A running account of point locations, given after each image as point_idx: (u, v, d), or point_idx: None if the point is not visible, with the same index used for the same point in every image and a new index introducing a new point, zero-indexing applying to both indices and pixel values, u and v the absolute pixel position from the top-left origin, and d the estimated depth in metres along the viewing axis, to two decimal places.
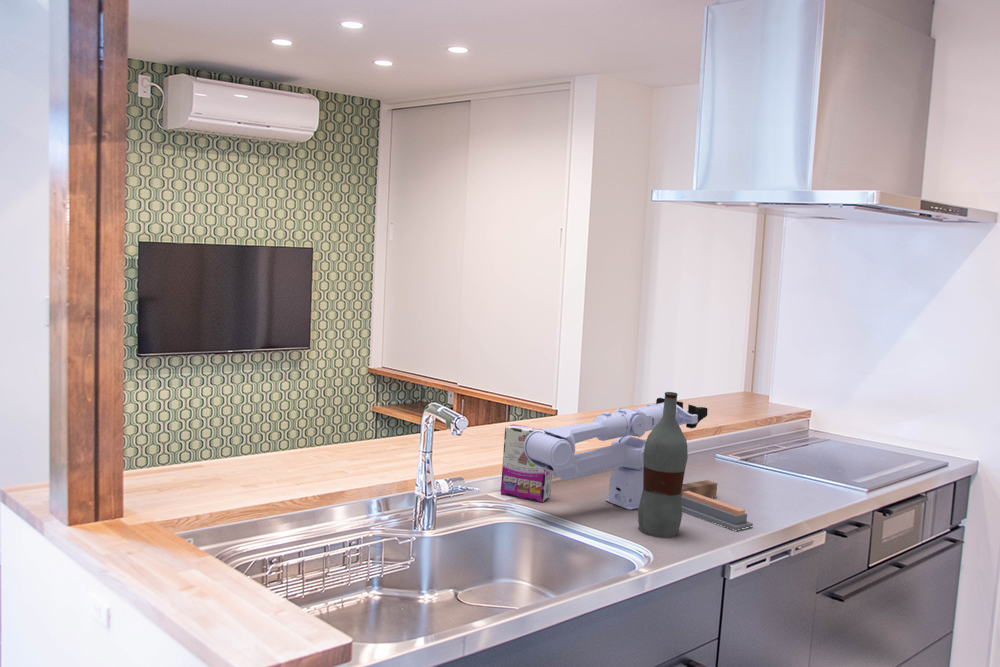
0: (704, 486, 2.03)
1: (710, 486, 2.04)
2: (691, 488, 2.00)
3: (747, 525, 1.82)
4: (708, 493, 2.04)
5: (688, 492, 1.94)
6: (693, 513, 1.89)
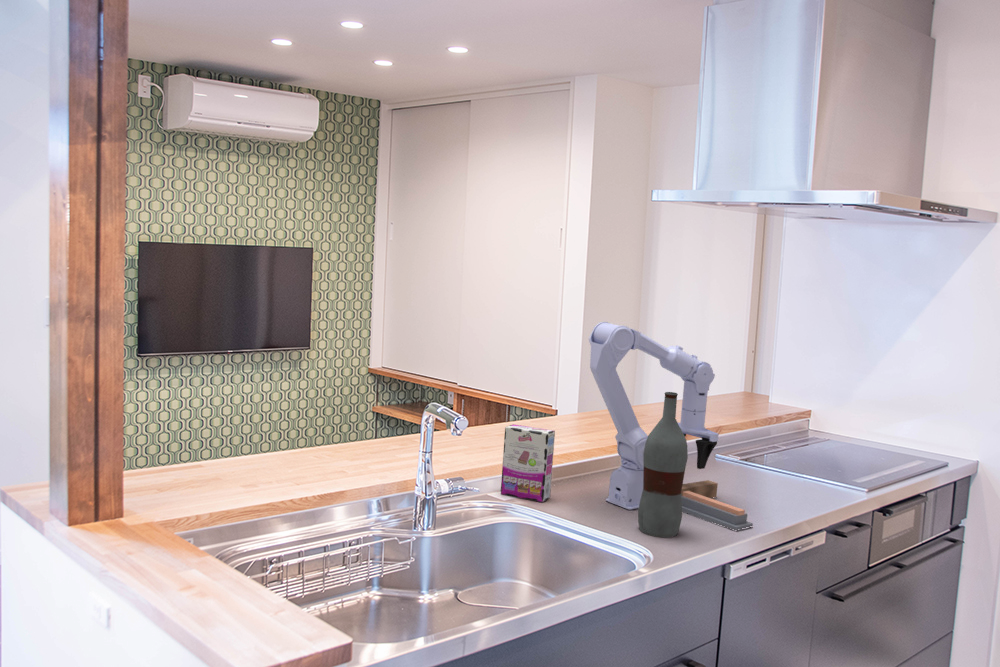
0: (704, 486, 2.03)
1: (710, 486, 2.04)
2: (691, 488, 2.00)
3: (747, 525, 1.82)
4: (709, 494, 2.04)
5: (688, 492, 1.94)
6: (693, 513, 1.89)
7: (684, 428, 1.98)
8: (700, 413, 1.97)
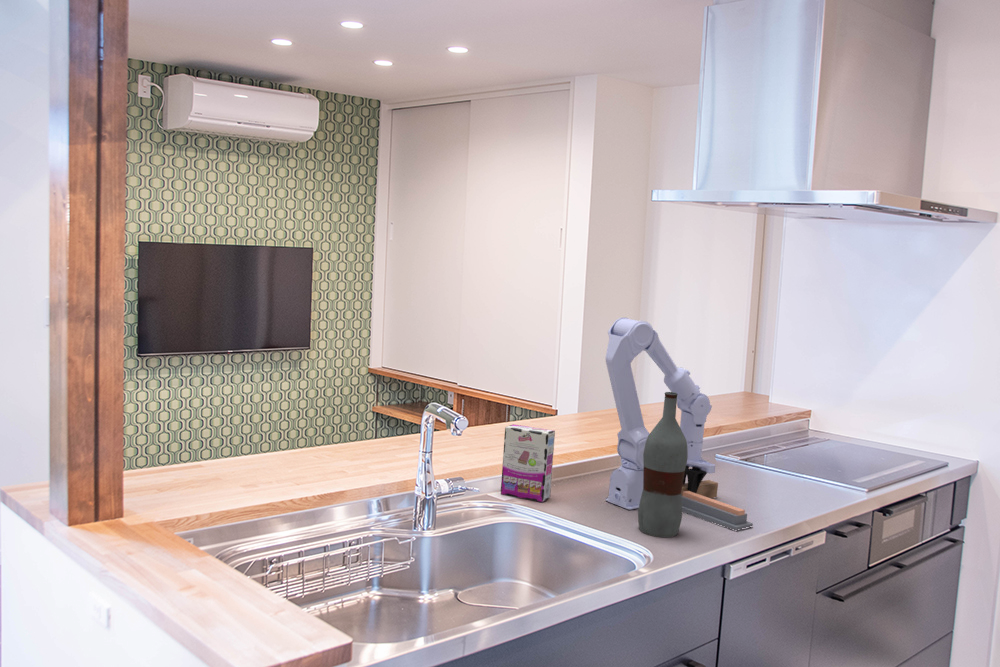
0: (704, 486, 2.03)
1: (710, 486, 2.04)
2: None
3: (747, 525, 1.82)
4: (709, 493, 2.04)
5: (688, 492, 1.94)
6: (693, 513, 1.89)
7: None
8: (697, 444, 1.97)
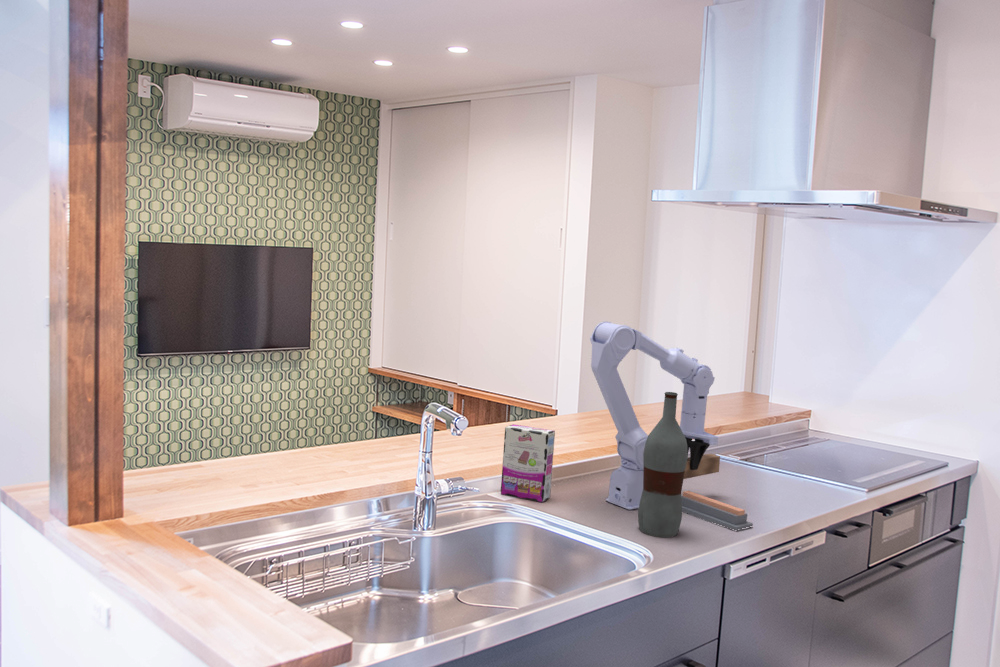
0: (707, 459, 2.02)
1: (712, 459, 2.04)
2: None
3: (747, 525, 1.82)
4: (711, 467, 2.04)
5: (688, 492, 1.94)
6: (693, 513, 1.89)
7: (684, 431, 1.98)
8: (700, 416, 1.97)
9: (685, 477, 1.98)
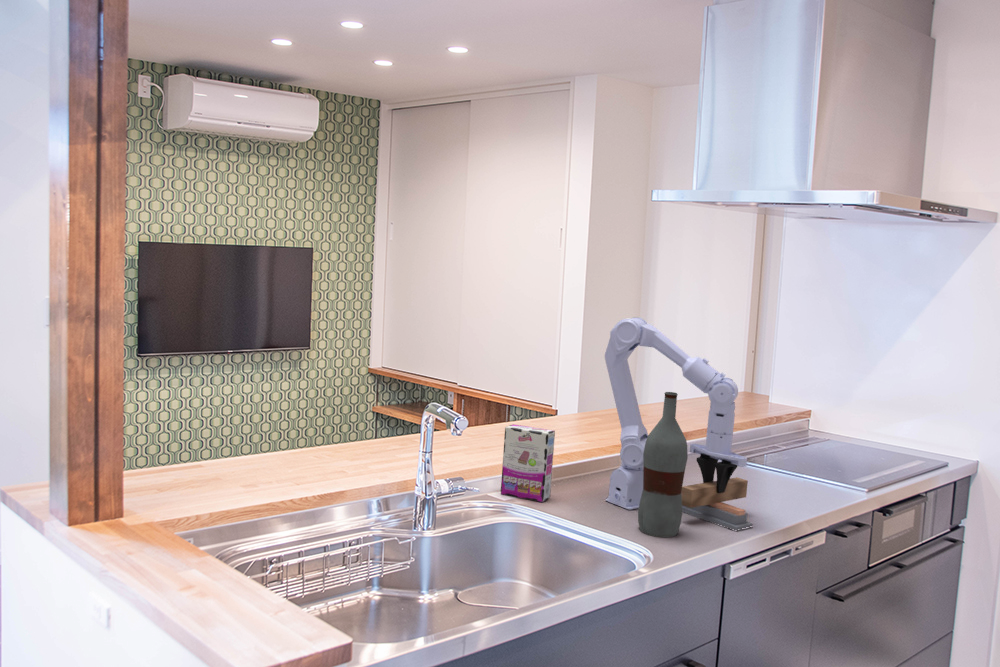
0: (734, 484, 1.90)
1: (740, 484, 1.92)
2: None
3: (747, 525, 1.82)
4: (739, 492, 1.92)
5: None
6: (693, 513, 1.89)
7: (710, 452, 1.86)
8: (727, 436, 1.84)
9: (711, 502, 1.86)
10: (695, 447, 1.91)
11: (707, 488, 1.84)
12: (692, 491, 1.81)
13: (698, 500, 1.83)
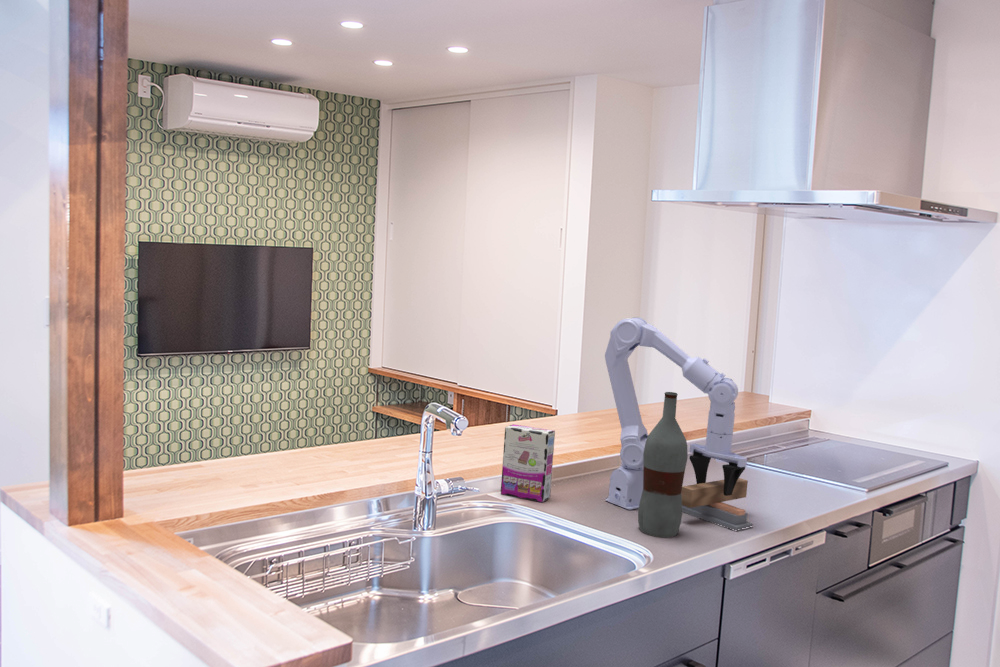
0: None
1: (740, 484, 1.92)
2: (721, 486, 1.87)
3: (747, 525, 1.82)
4: (739, 492, 1.92)
5: None
6: (693, 513, 1.89)
7: (710, 452, 1.86)
8: (727, 436, 1.84)
9: (711, 502, 1.86)
10: (695, 447, 1.91)
11: (707, 488, 1.84)
12: (692, 491, 1.81)
13: (698, 500, 1.83)
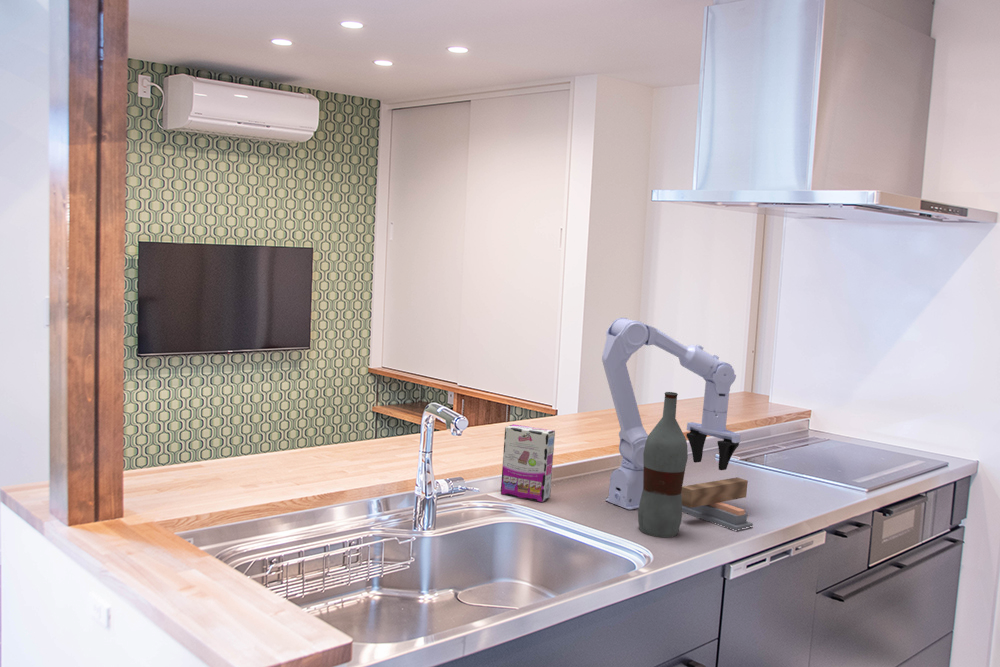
0: (734, 484, 1.90)
1: (740, 484, 1.92)
2: (721, 486, 1.87)
3: (747, 525, 1.82)
4: (739, 492, 1.92)
5: None
6: (693, 513, 1.89)
7: (705, 429, 1.96)
8: (722, 414, 1.95)
9: (711, 502, 1.86)
10: (692, 425, 2.02)
11: (707, 488, 1.84)
12: (692, 491, 1.81)
13: (698, 500, 1.83)
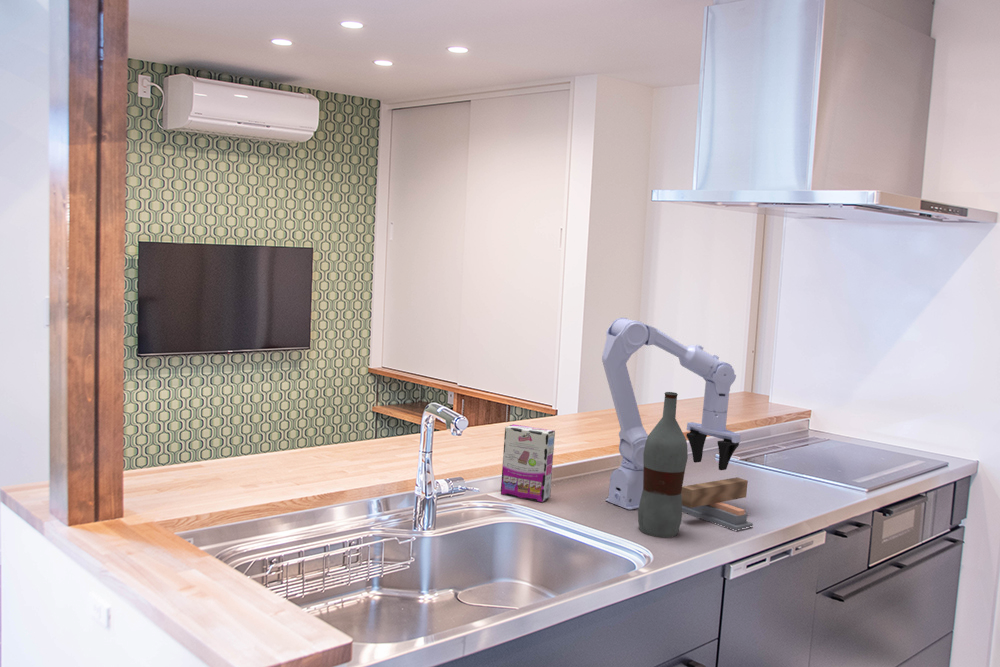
0: (734, 484, 1.90)
1: (740, 484, 1.92)
2: (721, 486, 1.87)
3: (747, 525, 1.82)
4: (739, 492, 1.92)
5: None
6: (693, 513, 1.89)
7: (705, 429, 1.96)
8: (722, 414, 1.95)
9: (711, 502, 1.86)
10: (692, 425, 2.02)
11: (707, 488, 1.84)
12: (692, 491, 1.81)
13: (698, 500, 1.83)
